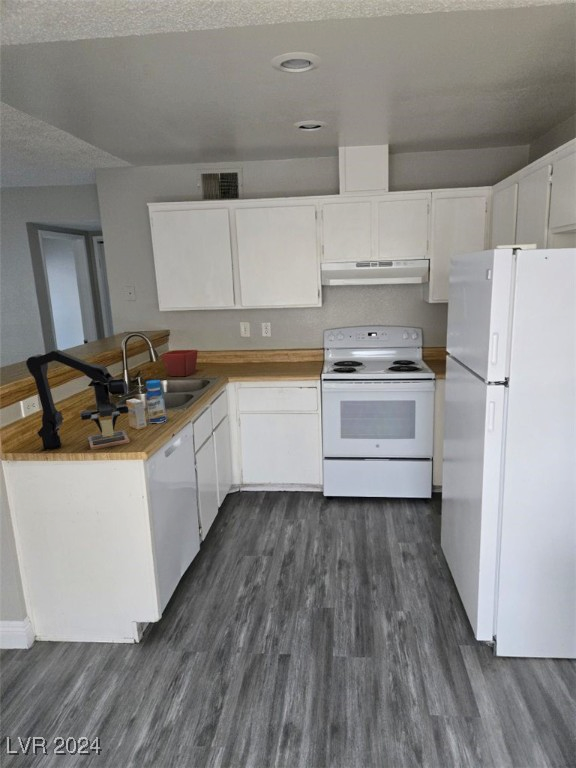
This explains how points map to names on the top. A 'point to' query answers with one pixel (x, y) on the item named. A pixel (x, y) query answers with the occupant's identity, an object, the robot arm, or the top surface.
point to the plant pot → (180, 362)
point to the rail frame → (108, 440)
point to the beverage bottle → (155, 402)
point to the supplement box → (136, 413)
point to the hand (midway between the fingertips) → (107, 431)
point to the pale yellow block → (107, 428)
